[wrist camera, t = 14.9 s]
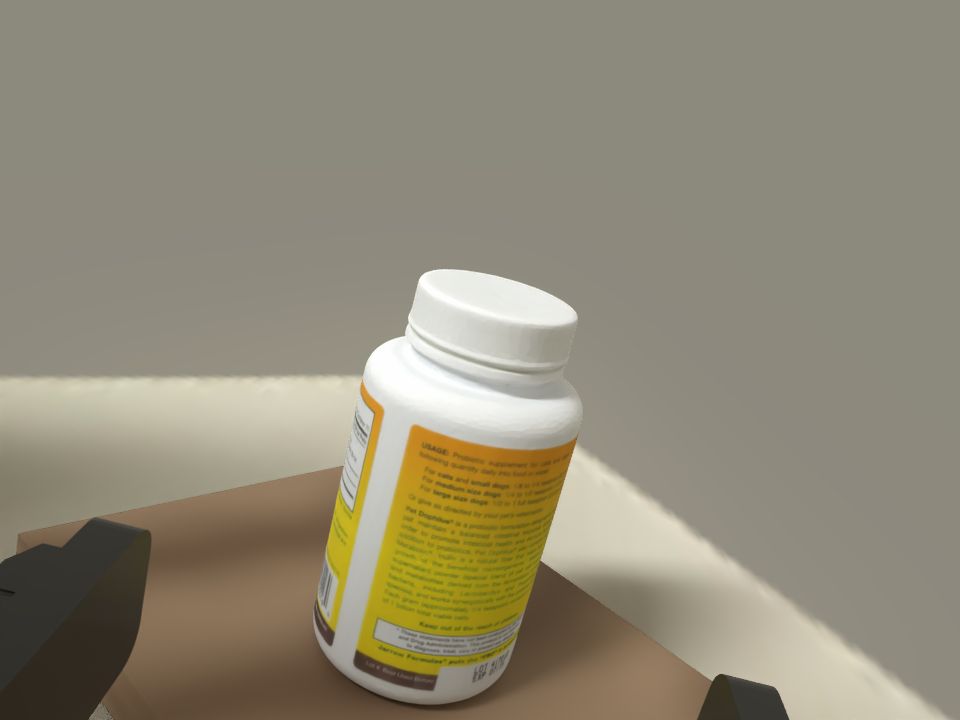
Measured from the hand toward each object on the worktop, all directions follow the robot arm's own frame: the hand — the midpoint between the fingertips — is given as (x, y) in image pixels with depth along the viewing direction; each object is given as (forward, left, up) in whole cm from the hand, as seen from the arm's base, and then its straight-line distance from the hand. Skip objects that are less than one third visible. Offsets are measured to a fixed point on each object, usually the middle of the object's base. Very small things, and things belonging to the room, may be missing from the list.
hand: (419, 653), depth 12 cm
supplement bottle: (-7, +8, -8) cm, 13 cm away
